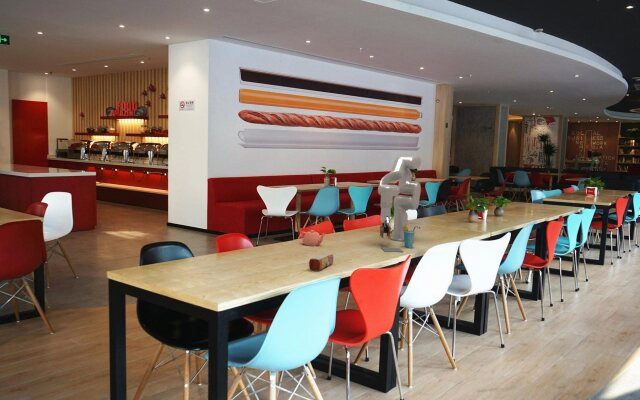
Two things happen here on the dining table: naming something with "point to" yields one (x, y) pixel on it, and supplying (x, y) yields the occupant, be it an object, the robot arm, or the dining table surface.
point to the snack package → (321, 261)
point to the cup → (408, 236)
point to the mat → (391, 249)
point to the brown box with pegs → (383, 231)
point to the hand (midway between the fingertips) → (385, 231)
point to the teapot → (312, 238)
